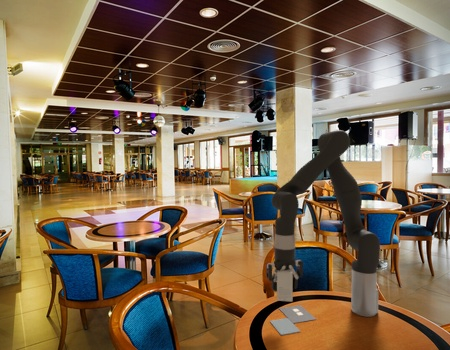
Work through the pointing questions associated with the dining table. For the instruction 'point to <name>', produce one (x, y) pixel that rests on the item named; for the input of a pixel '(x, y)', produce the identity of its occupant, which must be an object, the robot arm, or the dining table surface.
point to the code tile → (297, 314)
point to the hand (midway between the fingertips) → (284, 289)
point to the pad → (284, 326)
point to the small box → (285, 285)
